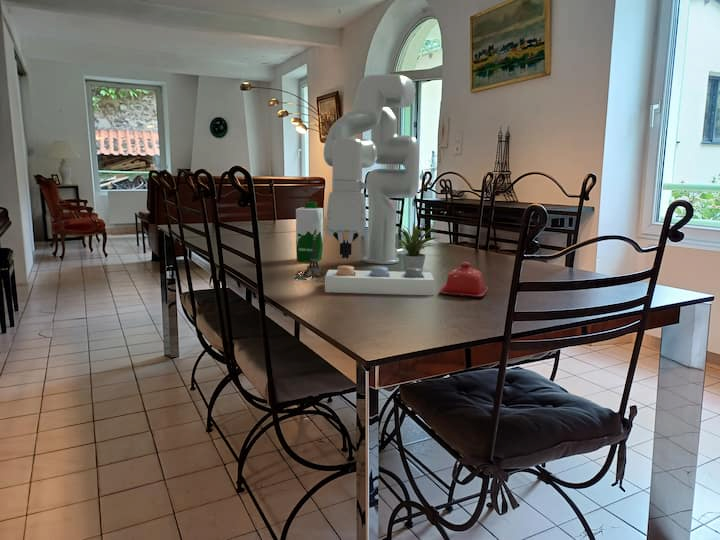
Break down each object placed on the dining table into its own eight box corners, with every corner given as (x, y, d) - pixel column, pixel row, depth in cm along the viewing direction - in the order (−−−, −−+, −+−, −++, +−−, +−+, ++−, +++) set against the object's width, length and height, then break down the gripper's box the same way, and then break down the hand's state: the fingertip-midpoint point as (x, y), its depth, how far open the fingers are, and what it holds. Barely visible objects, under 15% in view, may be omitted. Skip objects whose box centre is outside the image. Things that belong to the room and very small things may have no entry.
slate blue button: (387, 278, 140) (387, 266, 139) (387, 281, 136) (388, 269, 135) (371, 277, 140) (371, 266, 140) (371, 281, 136) (371, 269, 135)
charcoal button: (420, 279, 140) (421, 267, 139) (422, 282, 136) (422, 270, 135) (404, 278, 140) (405, 267, 139) (405, 282, 136) (405, 270, 135)
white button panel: (429, 286, 143) (430, 272, 142) (433, 295, 133) (434, 280, 132) (328, 283, 144) (328, 269, 143) (324, 292, 134) (324, 277, 133)
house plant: (412, 282, 148) (414, 225, 145) (378, 274, 158) (380, 220, 155) (444, 276, 157) (447, 222, 154) (411, 269, 167) (413, 218, 164)
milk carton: (324, 259, 183) (325, 202, 179) (318, 263, 174) (318, 203, 171) (300, 257, 185) (300, 201, 181) (293, 262, 176) (293, 202, 172)
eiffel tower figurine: (297, 272, 161) (297, 229, 158) (330, 273, 161) (330, 230, 159) (292, 283, 146) (292, 236, 144) (328, 283, 147) (329, 236, 144)
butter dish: (437, 296, 133) (439, 263, 132) (446, 287, 144) (448, 257, 142) (482, 301, 129) (485, 267, 128) (489, 291, 140) (491, 260, 138)
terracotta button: (354, 277, 140) (354, 265, 140) (353, 280, 136) (353, 268, 135) (337, 276, 140) (338, 265, 140) (336, 280, 136) (336, 268, 136)
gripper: (375, 187, 137) (373, 256, 140) (319, 186, 138) (318, 254, 141) (375, 188, 130) (373, 260, 133) (316, 187, 130) (315, 259, 134)
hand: (345, 257), depth 137 cm, fingers closed
